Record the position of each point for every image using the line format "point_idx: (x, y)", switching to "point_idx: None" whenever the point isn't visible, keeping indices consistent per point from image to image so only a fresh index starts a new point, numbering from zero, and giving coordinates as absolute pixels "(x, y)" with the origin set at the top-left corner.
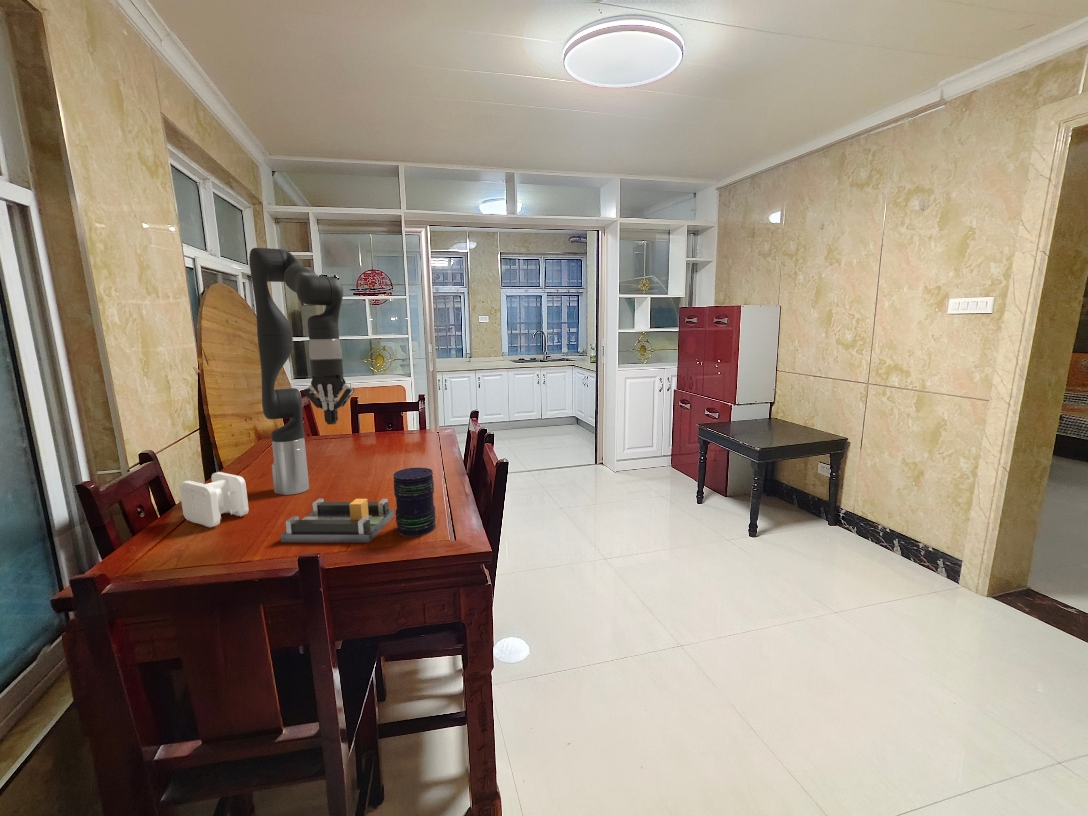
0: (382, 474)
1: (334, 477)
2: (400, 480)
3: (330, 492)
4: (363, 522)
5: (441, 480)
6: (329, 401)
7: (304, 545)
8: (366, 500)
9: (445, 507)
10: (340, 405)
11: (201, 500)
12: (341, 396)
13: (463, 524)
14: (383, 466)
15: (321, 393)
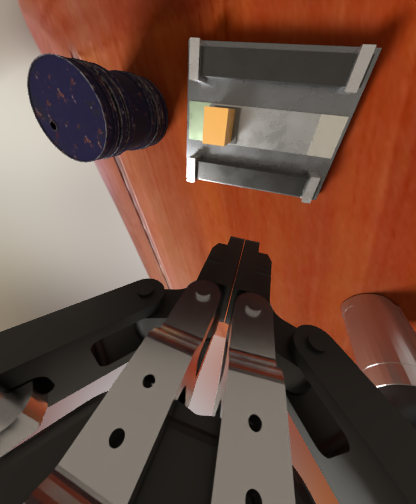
0: None
1: None
2: (70, 60)
3: (305, 286)
4: (190, 43)
5: (171, 285)
6: (194, 341)
7: (318, 30)
8: (203, 138)
9: (135, 196)
10: (126, 286)
11: None
12: (50, 347)
13: None
14: None
15: (258, 500)
